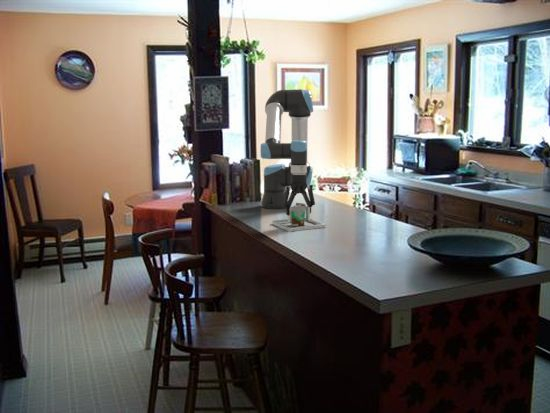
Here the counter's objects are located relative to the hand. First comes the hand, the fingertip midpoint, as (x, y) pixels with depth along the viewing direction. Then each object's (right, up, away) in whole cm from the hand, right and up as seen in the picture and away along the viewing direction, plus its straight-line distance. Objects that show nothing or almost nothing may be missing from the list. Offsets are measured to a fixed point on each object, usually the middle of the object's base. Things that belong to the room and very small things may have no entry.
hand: (298, 221), depth 285 cm
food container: (+1, -2, 0) cm, 3 cm away
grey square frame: (0, -2, 0) cm, 2 cm away
